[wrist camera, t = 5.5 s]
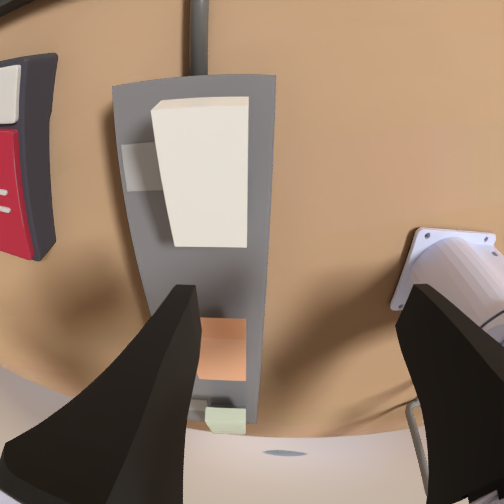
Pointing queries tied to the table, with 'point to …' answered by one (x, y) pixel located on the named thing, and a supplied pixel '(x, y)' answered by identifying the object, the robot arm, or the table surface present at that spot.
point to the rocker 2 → (226, 420)
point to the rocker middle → (222, 349)
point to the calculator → (26, 155)
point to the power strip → (157, 221)
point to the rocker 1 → (204, 168)
